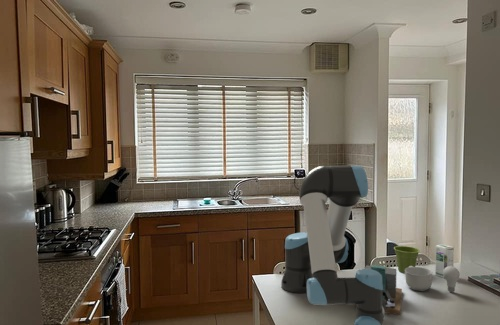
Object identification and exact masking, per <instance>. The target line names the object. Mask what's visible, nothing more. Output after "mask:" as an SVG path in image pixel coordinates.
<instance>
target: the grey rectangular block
mask: <svg viewBox="0 0 500 325" xmlns="http://www.w3.org/2000/svg"><path fill="white" fill-rule="evenodd" d="M371 266H372V265H365V267H364V269H371ZM396 288H397V268H392V267H386V277H385V290H388V292H389V294H390V296H391V298H394V299H396Z"/></svg>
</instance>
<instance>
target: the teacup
mask: <svg viewBox="0 0 500 325" xmlns="http://www.w3.org/2000/svg"><path fill="white" fill-rule="evenodd" d="M404 278H405V283H406V285H407V286H408V287H409V288H410V289H412V290H414V291H418V292H424V291H428V289H430V288H431V287H432V285H433V271H432V269H429V268H427V267H422V266H415V267H413V266H409V267H408V268H406V269H405V273H404Z"/></svg>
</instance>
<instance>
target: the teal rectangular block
mask: <svg viewBox="0 0 500 325" xmlns="http://www.w3.org/2000/svg"><path fill="white" fill-rule="evenodd" d="M370 266H371V270H375V271H377V272H379V273H380V274H381V276H382V284H383V288H384V290H385V277H386V268H387V267H386V266H385V265H375V264H372V265H370ZM382 299H383V300H385V297H384V296H383V298H382Z"/></svg>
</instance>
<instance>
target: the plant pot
mask: <svg viewBox="0 0 500 325" xmlns="http://www.w3.org/2000/svg"><path fill="white" fill-rule="evenodd" d="M393 249H394V253H395V255H396V264H397V270H398V271H399V272H400V273H403V274H405V269H406V268H408V267H409V266H413V267H416V265H417V264H416V263H417V259H418V256H419V253H420V249H419V248H418V247H413V246H407V245H404V246H403V245H396V246H394V247H393Z"/></svg>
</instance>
